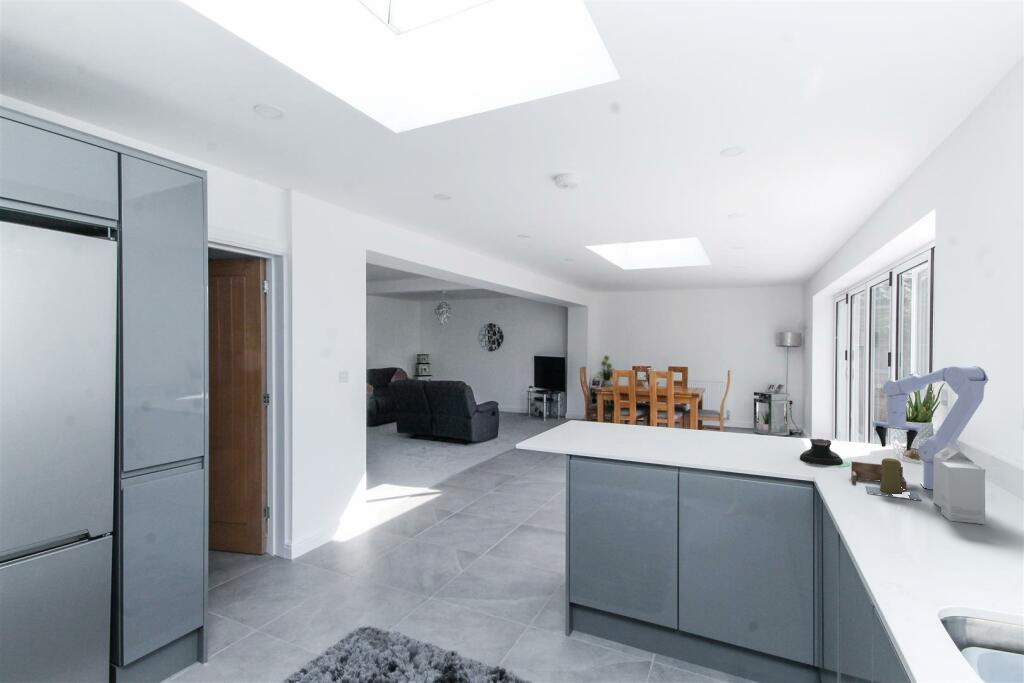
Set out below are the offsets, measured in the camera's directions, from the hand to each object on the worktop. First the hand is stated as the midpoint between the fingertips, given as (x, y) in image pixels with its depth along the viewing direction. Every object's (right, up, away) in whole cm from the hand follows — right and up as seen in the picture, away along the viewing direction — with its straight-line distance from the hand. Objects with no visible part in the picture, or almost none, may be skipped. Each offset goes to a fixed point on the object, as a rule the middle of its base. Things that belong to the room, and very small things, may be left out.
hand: (895, 448), depth 187 cm
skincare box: (-17, -11, -46) cm, 50 cm away
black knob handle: (-14, -11, +22) cm, 29 cm away
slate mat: (-19, -10, -23) cm, 31 cm away
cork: (-18, -10, -22) cm, 30 cm away
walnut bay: (-15, -10, -11) cm, 21 cm away
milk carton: (-10, -11, -36) cm, 39 cm away
